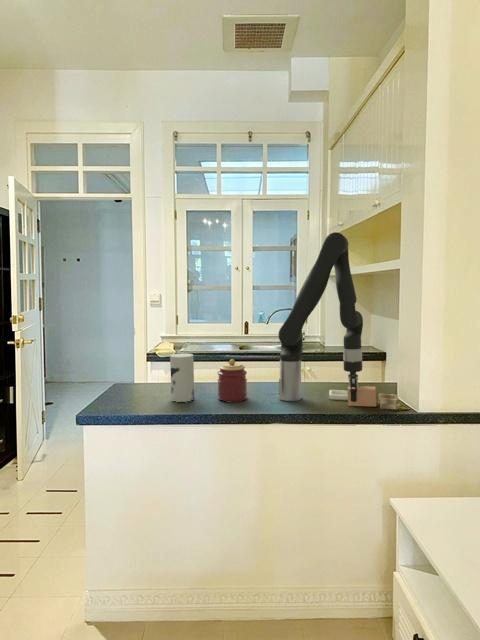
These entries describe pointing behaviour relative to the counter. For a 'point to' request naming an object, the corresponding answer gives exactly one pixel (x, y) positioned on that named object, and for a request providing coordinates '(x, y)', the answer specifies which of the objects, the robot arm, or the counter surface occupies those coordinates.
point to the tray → (338, 395)
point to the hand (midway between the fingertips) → (353, 399)
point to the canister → (232, 382)
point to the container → (182, 377)
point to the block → (363, 396)
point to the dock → (388, 401)
